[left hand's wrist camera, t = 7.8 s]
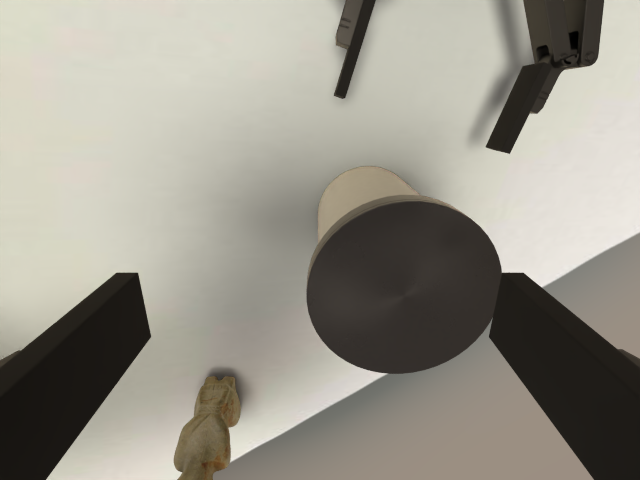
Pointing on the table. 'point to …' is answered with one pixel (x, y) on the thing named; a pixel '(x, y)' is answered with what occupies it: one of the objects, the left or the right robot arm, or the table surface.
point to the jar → (357, 193)
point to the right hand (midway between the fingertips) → (420, 124)
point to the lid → (402, 284)
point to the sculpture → (208, 431)
